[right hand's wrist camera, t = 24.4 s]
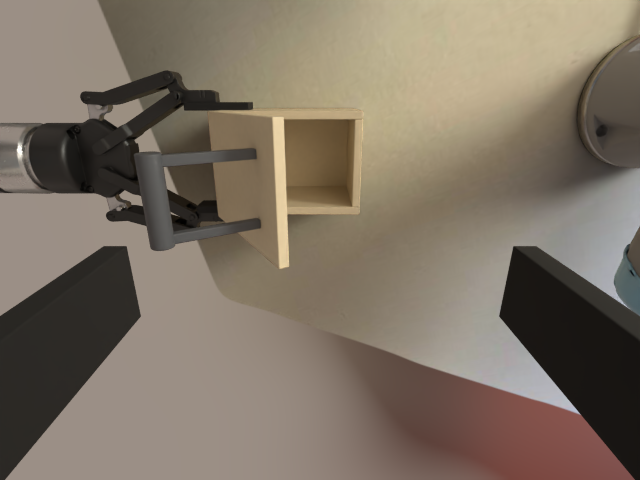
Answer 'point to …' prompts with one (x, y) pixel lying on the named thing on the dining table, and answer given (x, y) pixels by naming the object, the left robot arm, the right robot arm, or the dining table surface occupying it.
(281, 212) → the lid
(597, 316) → the right robot arm
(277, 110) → the chest
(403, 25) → the dining table surface
